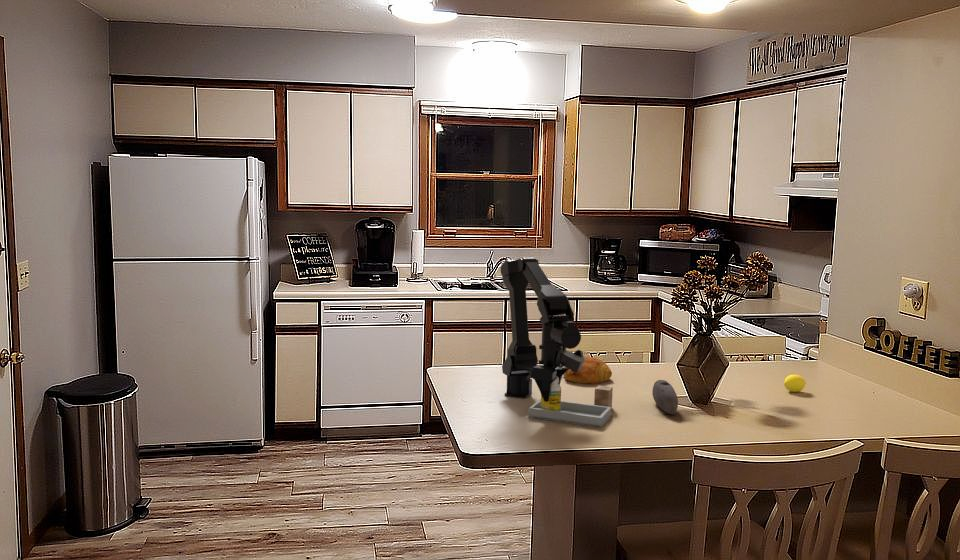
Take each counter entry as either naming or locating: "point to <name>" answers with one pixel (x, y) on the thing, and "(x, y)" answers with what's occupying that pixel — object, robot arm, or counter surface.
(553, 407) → the supplement bottle
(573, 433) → the counter surface
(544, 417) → the tray
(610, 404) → the block
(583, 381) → the croissant
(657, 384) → the perforated stone tool
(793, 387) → the lemon
